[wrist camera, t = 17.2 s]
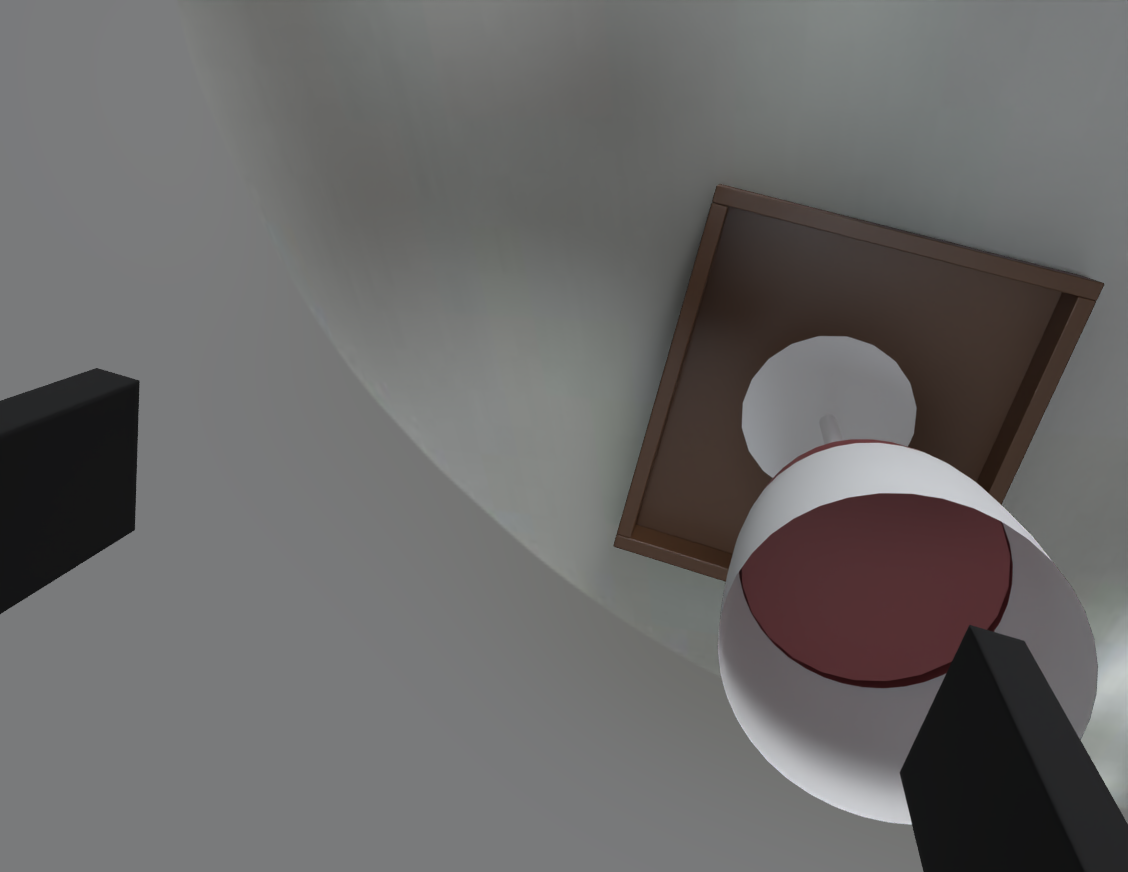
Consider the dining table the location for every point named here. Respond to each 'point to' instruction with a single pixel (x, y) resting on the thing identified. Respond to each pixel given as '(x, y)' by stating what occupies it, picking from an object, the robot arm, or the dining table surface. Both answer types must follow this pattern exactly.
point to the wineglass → (871, 580)
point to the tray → (857, 310)
